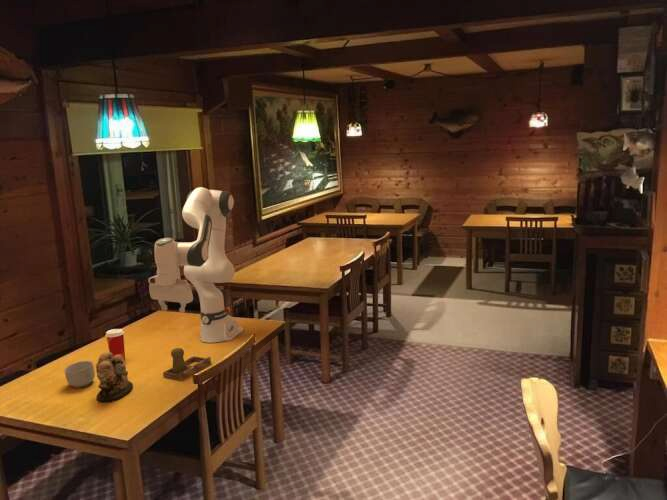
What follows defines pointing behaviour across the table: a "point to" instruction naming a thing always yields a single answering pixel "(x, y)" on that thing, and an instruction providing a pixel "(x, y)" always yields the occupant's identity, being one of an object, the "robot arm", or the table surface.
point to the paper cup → (116, 342)
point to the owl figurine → (112, 378)
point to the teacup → (80, 373)
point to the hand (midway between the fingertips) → (173, 311)
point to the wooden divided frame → (188, 368)
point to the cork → (178, 360)
